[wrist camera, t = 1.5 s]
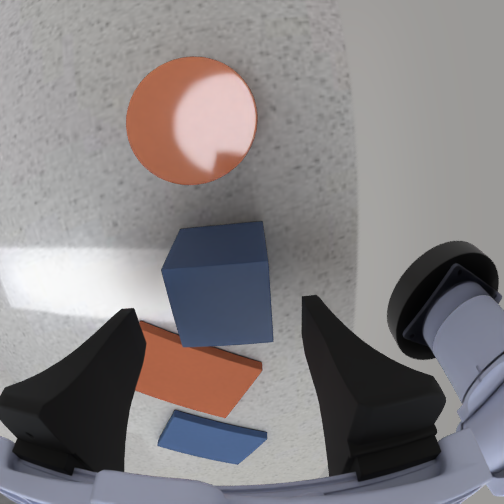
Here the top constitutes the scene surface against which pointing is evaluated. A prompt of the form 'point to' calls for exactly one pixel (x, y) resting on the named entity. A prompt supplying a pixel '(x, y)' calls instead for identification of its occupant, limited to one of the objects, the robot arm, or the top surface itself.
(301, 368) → the top surface
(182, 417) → the blue mat
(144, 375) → the terracotta mat
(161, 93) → the terracotta cylinder
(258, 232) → the blue cube
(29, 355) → the top surface
